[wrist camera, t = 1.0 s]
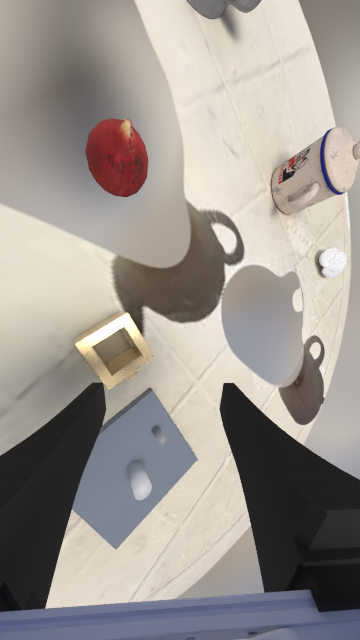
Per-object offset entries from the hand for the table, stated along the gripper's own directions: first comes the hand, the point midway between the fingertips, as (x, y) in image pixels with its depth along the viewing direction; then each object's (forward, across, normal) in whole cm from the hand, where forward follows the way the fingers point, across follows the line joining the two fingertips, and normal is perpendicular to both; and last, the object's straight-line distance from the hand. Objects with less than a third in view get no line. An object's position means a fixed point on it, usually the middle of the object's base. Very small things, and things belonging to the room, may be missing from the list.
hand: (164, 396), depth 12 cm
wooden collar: (+12, +7, +3) cm, 14 cm away
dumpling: (+35, -35, -6) cm, 50 cm away
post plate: (+8, +4, +18) cm, 21 cm away
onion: (+18, +7, -15) cm, 24 cm away
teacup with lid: (+33, -21, -18) cm, 43 cm away
